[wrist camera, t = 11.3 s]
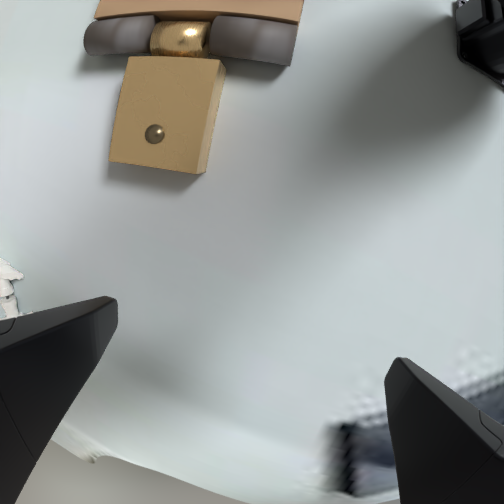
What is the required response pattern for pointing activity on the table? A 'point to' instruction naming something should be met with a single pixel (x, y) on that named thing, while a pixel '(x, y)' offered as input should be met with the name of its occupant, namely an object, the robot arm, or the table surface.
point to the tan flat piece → (200, 10)
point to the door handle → (9, 289)
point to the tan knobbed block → (169, 101)
